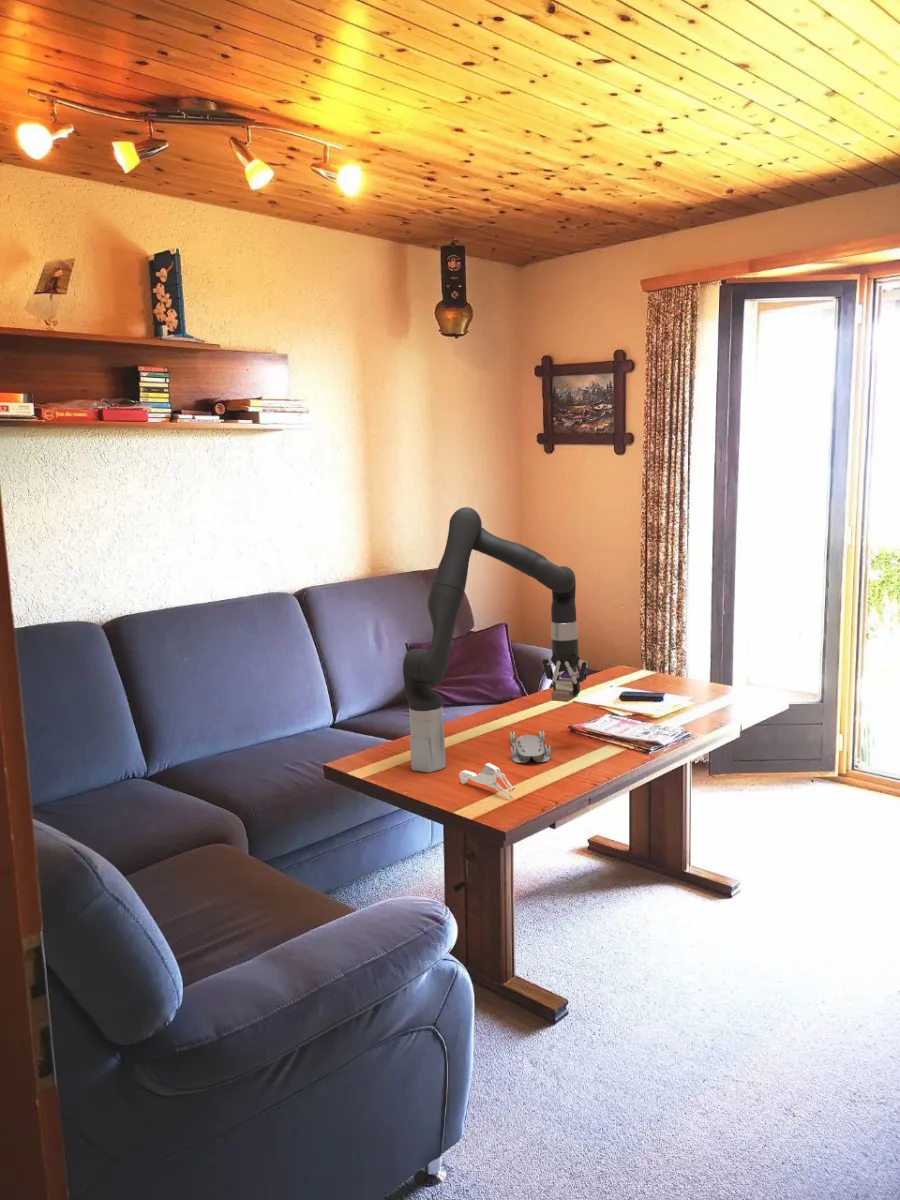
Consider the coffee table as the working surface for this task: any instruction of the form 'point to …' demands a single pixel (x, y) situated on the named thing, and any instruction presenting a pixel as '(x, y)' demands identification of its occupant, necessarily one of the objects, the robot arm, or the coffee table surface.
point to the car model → (529, 748)
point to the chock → (563, 690)
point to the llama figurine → (487, 778)
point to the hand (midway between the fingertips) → (566, 694)
